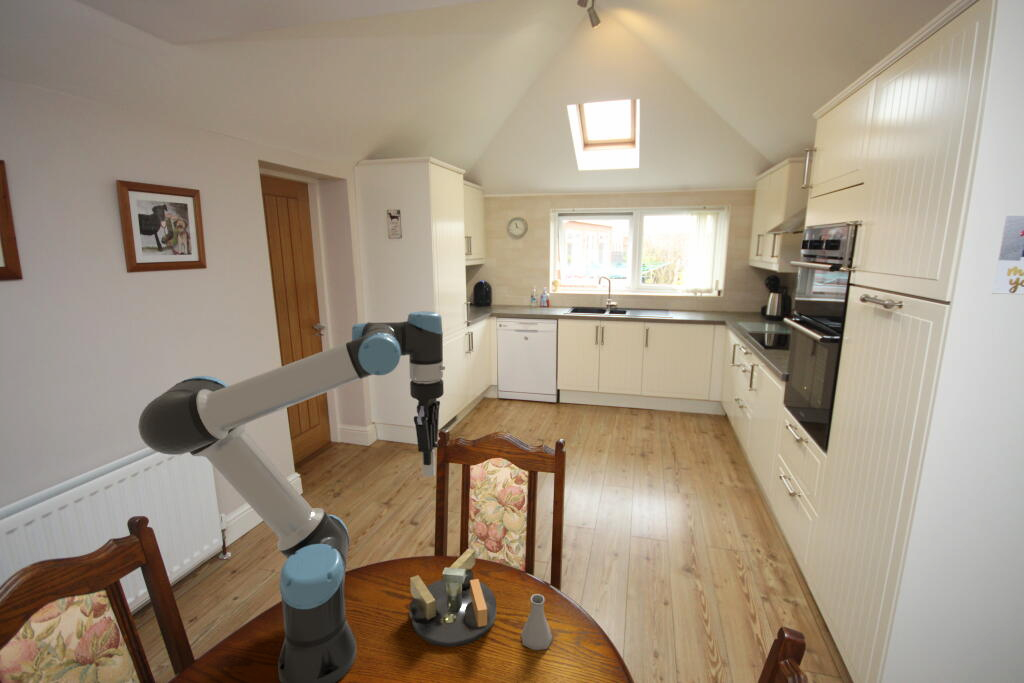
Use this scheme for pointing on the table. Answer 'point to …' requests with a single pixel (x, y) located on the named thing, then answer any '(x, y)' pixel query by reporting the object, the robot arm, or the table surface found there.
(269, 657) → the table surface
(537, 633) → the flask
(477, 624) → the orange rectangular block
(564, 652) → the table surface
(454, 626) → the round disc fixture
